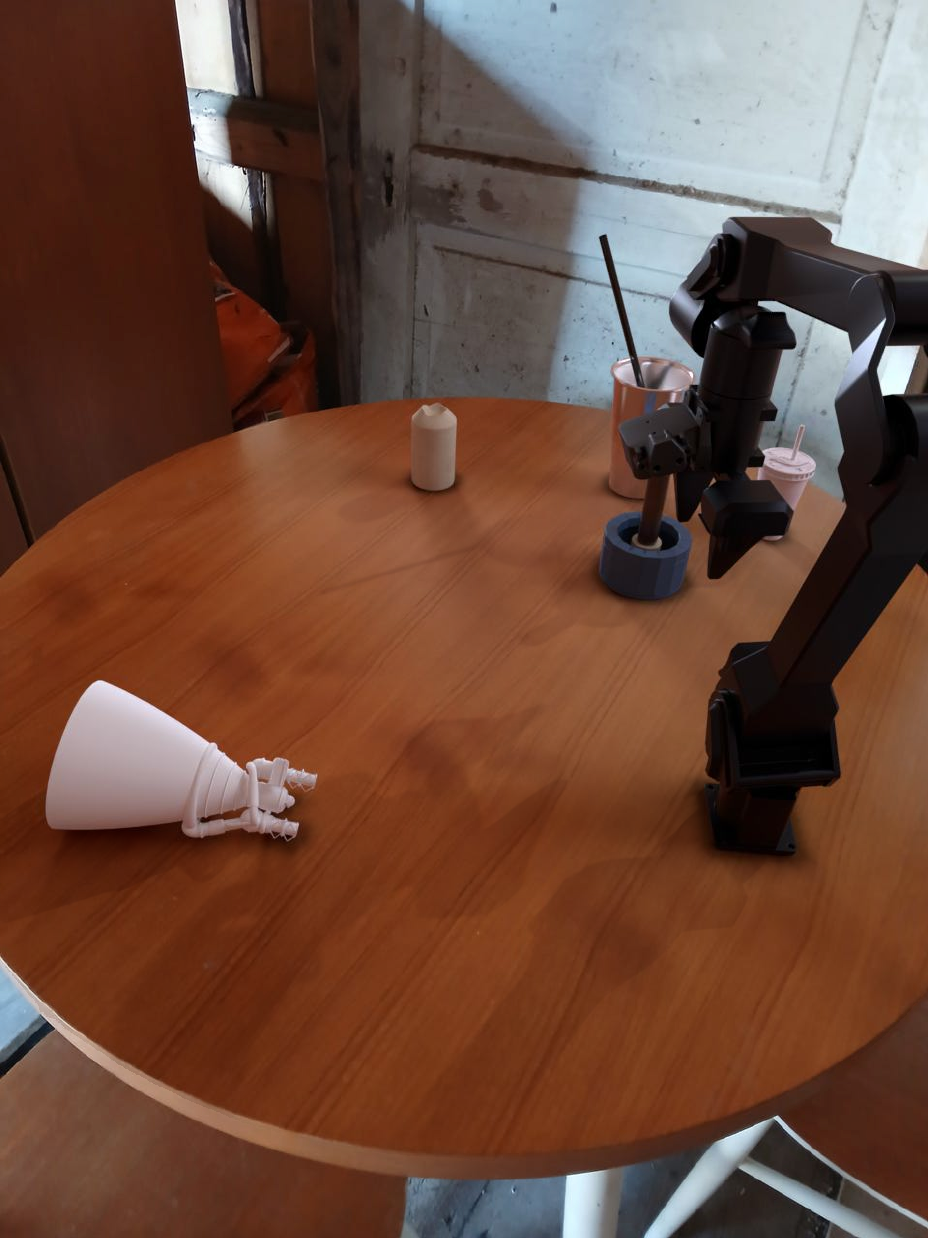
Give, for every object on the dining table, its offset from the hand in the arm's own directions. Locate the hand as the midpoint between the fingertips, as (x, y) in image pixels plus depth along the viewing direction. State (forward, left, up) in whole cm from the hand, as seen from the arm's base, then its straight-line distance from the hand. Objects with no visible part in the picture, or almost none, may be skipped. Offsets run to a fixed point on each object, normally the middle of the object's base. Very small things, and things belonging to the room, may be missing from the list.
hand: (697, 548), depth 81 cm
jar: (+14, +2, -13) cm, 19 cm away
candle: (+32, +27, -13) cm, 44 cm away
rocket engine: (-25, +41, -13) cm, 50 cm away
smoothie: (+25, -14, -13) cm, 32 cm away
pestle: (+14, +2, -12) cm, 19 cm away
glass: (+34, +2, -13) cm, 36 cm away
